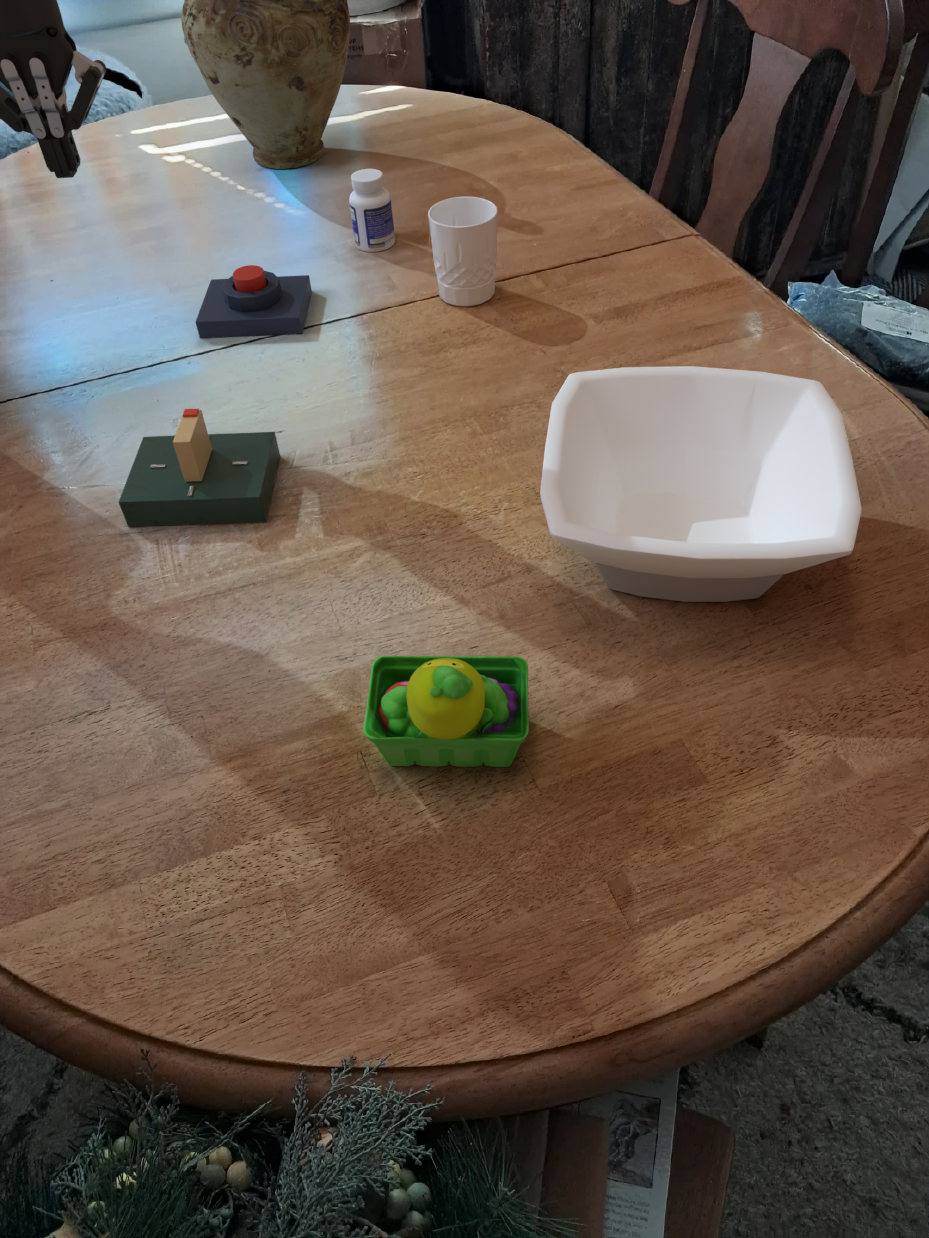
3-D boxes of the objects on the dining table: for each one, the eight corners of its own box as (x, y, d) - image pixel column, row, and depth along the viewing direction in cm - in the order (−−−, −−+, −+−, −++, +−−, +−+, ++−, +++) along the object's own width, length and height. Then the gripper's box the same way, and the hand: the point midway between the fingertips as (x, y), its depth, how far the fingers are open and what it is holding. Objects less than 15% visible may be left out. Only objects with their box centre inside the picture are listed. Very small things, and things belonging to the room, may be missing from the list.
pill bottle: (402, 238, 130) (395, 169, 124) (383, 256, 127) (375, 186, 120) (367, 232, 132) (358, 164, 125) (347, 249, 129) (338, 180, 122)
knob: (202, 481, 91) (189, 439, 88) (185, 482, 91) (171, 440, 88) (212, 448, 95) (200, 407, 91) (196, 449, 95) (183, 407, 91)
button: (233, 295, 114) (230, 280, 113) (238, 279, 117) (235, 265, 115) (264, 293, 114) (261, 279, 113) (268, 278, 117) (265, 264, 115)
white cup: (511, 286, 120) (510, 205, 112) (475, 316, 115) (472, 232, 108) (458, 271, 123) (453, 191, 116) (421, 299, 119) (413, 217, 111)
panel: (127, 527, 92) (117, 500, 90) (151, 461, 99) (142, 435, 97) (266, 522, 92) (259, 495, 89) (280, 456, 99) (274, 430, 96)
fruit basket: (528, 698, 76) (528, 594, 68) (528, 796, 70) (528, 695, 61) (380, 698, 76) (362, 595, 68) (368, 795, 70) (347, 695, 62)
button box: (199, 339, 115) (191, 307, 112) (215, 296, 122) (207, 265, 119) (302, 334, 114) (296, 303, 111) (311, 291, 121) (306, 261, 118)
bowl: (531, 640, 80) (531, 546, 72) (554, 451, 97) (556, 360, 89) (843, 662, 77) (876, 566, 69) (810, 463, 94) (834, 368, 86)
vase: (273, 200, 137) (217, -59, 118) (190, 172, 151) (126, -64, 132) (402, 153, 148) (369, -92, 128) (312, 131, 162) (271, -93, 142)
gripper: (-100, -21, 79) (-14, 195, 92) (62, -30, 79) (126, 188, 92) (-65, -45, 85) (12, 162, 97) (87, -54, 84) (145, 155, 97)
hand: (67, 174), depth 94 cm, fingers closed
